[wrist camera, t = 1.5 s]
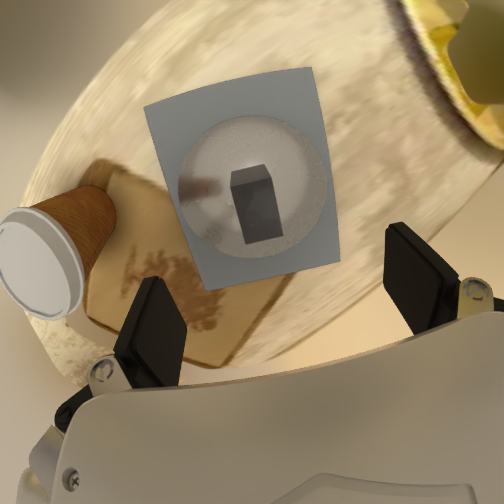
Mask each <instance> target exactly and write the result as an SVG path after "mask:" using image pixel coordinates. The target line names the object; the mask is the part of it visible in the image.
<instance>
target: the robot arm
mask: <svg viewBox="0 0 504 504" xmlns="http://www.w3.org/2000/svg"><path fill="white" fill-rule="evenodd" d="M458 276H459V275H458V274H457V273H456V271H455V270H453V268H452V267H451V266H450V265H449V264H448V263H447V262H446V261H445V260H444V259H443V258H442V257H441V256H440V255H439V254H438V253H436V252H435V251H434V250H433V249H432V248H431V247H430V246H429V245H428V244H427V243H426V242H425V241H424V240H423V239H422V238H420V237H419V236H418V235H417V234H416V233H415V232H414V231H413V230H411V229H410V228H409V227H408V226H407V225H406V224H405V223H403V222H397V223H393V224H390V225H389V227H388V228H387V229H386V231H385V257H384V274H383V284H384V288H385V290H386V291H387V292H388V294H389V295H390V297H391V299H392V300H393V302H394V303H395V305H396V306H397V308H398V309H399V311H400V313H401V314H402V316H403V318H404V319H405V321H406V322H407V324H408V326H409V327H410V329H411V330H412V332H413V334H414V336H411V337H408V338H405V339H403V340H400V341H397V342H394V343H391V344H388V345H385V346H382V347H379V348H376V349H373V350H369V351H366V352H363V353H359V354H356V355H352V356H349V357H345V358H341V359H338V360H334V361H330V362H326V363H322V364H318V365H314V366H309V367H305V368H300V369H295V370H291V371H285V372H280V373H275V374H269V375H264V376H258V377H251V378H245V379H238V380H231V381H224V382H215V383H205V384H195V385H183V386H178V383H179V376H180V370H181V363H182V358H183V352H184V346H185V340H186V335H187V326H186V323H185V321H184V320H183V318H182V316H181V314H180V312H179V310H178V308H177V306H176V304H175V302H174V300H173V298H172V296H171V294H170V292H169V290H168V288H167V286H166V284H165V282H164V280H163V279H162V278H160V279H159V277H158V276H153V277H148V278H144V279H143V281H142V283H141V285H140V288H139V290H138V292H137V294H136V296H135V299H134V301H133V303H132V305H131V308H130V310H129V312H128V315H127V317H126V319H125V322H124V324H123V326H122V329H121V331H120V334H119V336H118V339H117V341H116V344H115V346H114V349H113V351H114V352H115V354H114V355H110V356H104V357H101V358H99V359H97V360H96V361H95V362H94V363H93V364H92V365H91V366H90V368H89V370H88V373H87V380H88V383H89V384H88V385H87V386H85V387H84V388H83V389H81V390H80V391H79V392H77V393H76V394H75V395H74V396H72V397H71V398H70V399H68V400H67V401H66V402H64V403H63V404H62V405H61V406H60V407H59V408H58V410H57V411H56V414H55V427H54V426H53V425H51V426H50V428H49V429H48V430H47V431H46V433H45V434H44V435H43V437H42V438H41V439H40V440H39V442H38V443H37V444H36V446H35V447H34V448H33V449H32V451H31V453H30V455H29V464H30V467H29V468H27V469H26V470H24V472H23V473H22V475H21V478H20V481H19V485H18V491H17V502H16V504H504V300H502V299H499V298H495V297H493V292H492V288H491V287H490V285H489V284H488V283H487V282H485V281H484V280H482V279H479V278H475V277H469V278H466V279H464V280H463V281H462V282H461V281H460V280H459V279H458Z"/></svg>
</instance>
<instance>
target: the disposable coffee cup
mask: <svg viewBox="0 0 504 504" xmlns="http://www.w3.org/2000/svg"><path fill="white" fill-rule="evenodd" d="M115 223H116V212H115V208H114V205H113V203H112V201H111V199H110V198H109V196H108V195H107V194H106V193H105V192H104V191H103V190H101V189H100V188H97V187H95V186H89V185H88V186H82V187H80V188H77V189H74V190H71V191H69V192H66V193H63V194H60V195H58V196H55V197H53V198H50V199H47V200H45V201H42V202H40V203H38V204H35V205H33V206H30V207H18V208H15V209H13V210H11V211H9V212H8V213H6V214H5V215H4V217H3V218H2V220H1V221H0V282H1V283H2V285H3V287H4V288H5V290H6V292H7V293H8V294H9V295H10V297H11V298H12V299H13V300H14V301H15V302H16V303H17V304H18V305H19V306H20V307H21V308H22V309H24V310H25V311H27V312H28V313H29V314H31V315H32V316H35V317H37V318H39V319H42V320H46V321H55V320H59V319H61V318H63V317H64V316H65V315H67V314H70V313H72V312H73V311H75V310H76V309H77V307H78V306H79V305H80V303H81V301H82V298H83V293H84V284H85V281H86V280H87V278H88V276H89V274H90V271H91V270H92V267H93V266H94V264H95V262H96V260H97V258H98V256H99V254H100V252H101V251H102V248H103V247H104V245H105V243H106V241H107V240H108V238H109V236H110V234H111V233H112V231H113V229H114V227H115Z"/></svg>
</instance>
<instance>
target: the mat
mask: <svg viewBox="0 0 504 504" xmlns="http://www.w3.org/2000/svg"><path fill="white" fill-rule="evenodd" d="M143 108H144V111H145V115H146V119H147V122H148V126H149V129H150V132H151V136H152V139H153V143H154V146H155V149H156V152H157V156H158V159H159V162H160V165H161V168H162V171H163V175H164V178H165V181H166V184H167V187H168V190H169V193H170V196H171V199H172V202H173V204H174V207H175V210H176V213H177V216H178V219H179V221H180V224H181V227H182V230H183V233H184V235H185V238H186V241H187V243H188V246H189V249H190V251H191V254H192V257H193V259H194V262H195V264H196V267H197V270H198V272H199V275H200V277H201V280H202V282H203V285H204V287H205V290H206V291H211V290H216V289H221V288H226V287H230V286H235V285H240V284H244V283H249V282H253V281H258V280H262V279H267V278H271V277H276V276H280V275H285V274H289V273H293V272H298V271H302V270H306V269H310V268H315V267H319V266H323V265H327V264H331V263H335V262H339V261H340V247H339V234H338V223H337V213H336V203H335V195H334V186H333V179H332V171H331V164H330V158H329V151H328V145H327V139H326V134H325V128H324V123H323V117H322V112H321V107H320V102H319V98H318V93H317V89H316V84H315V80H314V76H313V71H312V67H304V68H296V69H288V70H281V71H274V72H268V73H262V74H257V75H252V76H247V77H242V78H237V79H233V80H229V81H224V82H220V83H216V84H213V85H209V86H205V87H202V88H198V89H195V90H192V91H188V92H185V93H182V94H179V95H176V96H173V97H170V98H167V99H164V100H161V101H159V102H156V103H153V104H151V105H148V106H145V107H143ZM245 116H259V117H268V118H272V119H276V120H279V121H281V122H284V123H286V124H288V125H290V126H292V127H293V128H295V129H297V130H298V131H299V132H301V133H302V134H303V135H304V136H305V137H306V138H307V139H308V140H309V141H310V142H311V143H312V145H313V146H314V147H315V149H316V150H317V152H318V154H319V156H320V157H321V160H322V162H323V165H324V168H325V173H326V179H327V194H326V200H325V204H324V207H323V210H322V213H321V215H320V217H319V219H318V221H317V222H316V224H315V226H314V227H313V228H312V230H311V231H310V232H309V233H308V234H307V235H306V236H305V237H304V238H303V239H302V240H301V241H300V242H298V243H297V244H295V245H294V246H292V247H291V248H289V249H287V250H285V251H283V252H280V253H278V254H275V255H271V256H267V257H261V258H241V257H235V256H231V255H228V254H225V253H222V252H220V251H218V250H216V249H214V248H212V247H211V246H209V245H208V244H206V243H205V242H204V241H202V240H201V239H200V238H199V237H198V236H197V235H196V234H195V233H194V231H193V230H192V229H191V228H190V226H189V225H188V223H187V221H186V219H185V217H184V215H183V213H182V210H181V206H180V203H179V196H178V180H179V174H180V170H181V167H182V164H183V162H184V159H185V157H186V155H187V153H188V152H189V150H190V149H191V147H192V146H193V145H194V144H195V142H196V141H197V140H198V139H199V138H200V137H201V136H202V135H204V134H205V133H206V132H207V131H209V130H210V129H212V128H213V127H215V126H217V125H219V124H221V123H223V122H225V121H228V120H231V119H234V118H239V117H245Z"/></svg>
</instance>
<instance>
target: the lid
mask: <svg viewBox="0 0 504 504" xmlns="http://www.w3.org/2000/svg"><path fill="white" fill-rule="evenodd" d="M326 194H327V179H326V173H325V168H324V165H323V162H322V160H321V157H320V156H319V154H318V152H317V150H316V149H315V147H314V146H313V145H312V143H311V142H310V141H309V140H308V139H307V138H306V137H305V136H304V135H303V134H302V133H301V132H299V131H298V130H297V129H295V128H293V127H292V126H290V125H288V124H286V123H284V122H281V121H279V120H276V119H272V118H268V117H259V116H245V117H239V118H234V119H231V120H228V121H225V122H223V123H221V124H219V125H217V126H215V127H213V128H212V129H210V130H209V131H207V132H206V133H205V134H204V135H202V136H201V137H200V138H199V139H198V140H197V141H196V142H195V144H194V145H193V146H192V147H191V149H190V150H189V152H188V153H187V155H186V157H185V159H184V162H183V164H182V167H181V170H180V174H179V180H178V196H179V203H180V206H181V210H182V213H183V215H184V217H185V219H186V221H187V223H188V225H189V226H190V228H191V229H192V230H193V231H194V233H195V234H196V235H197V236H198V237H199V238H200V239H201V240H202V241H204V242H205V243H206V244H208V245H209V246H211V247H212V248H214V249H216V250H218V251H220V252H222V253H225V254H228V255H231V256H235V257H241V258H261V257H267V256H271V255H275V254H278V253H280V252H283V251H285V250H287V249H289V248H291V247H292V246H294V245H295V244H297V243H298V242H300V241H301V240H302V239H303V238H304V237H305V236H306V235H307V234H308V233H309V232H310V231H311V230H312V228H313V227H314V226H315V224H316V222H317V221H318V219H319V217H320V215H321V213H322V210H323V207H324V204H325V200H326Z"/></svg>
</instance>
